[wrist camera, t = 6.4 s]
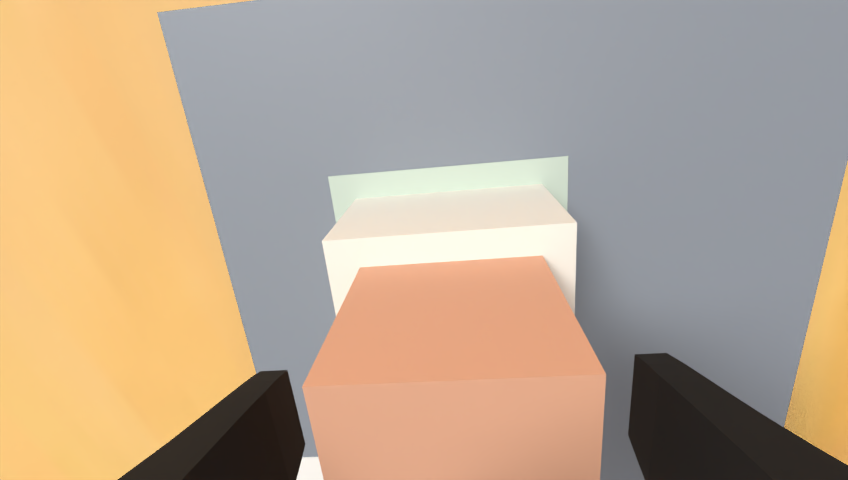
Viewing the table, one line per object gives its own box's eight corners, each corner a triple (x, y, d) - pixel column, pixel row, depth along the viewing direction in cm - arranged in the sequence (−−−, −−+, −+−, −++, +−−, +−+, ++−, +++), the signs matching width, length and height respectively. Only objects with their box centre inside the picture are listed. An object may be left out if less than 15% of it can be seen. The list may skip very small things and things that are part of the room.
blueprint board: (738, 548, 20) (751, 568, 19) (315, 552, 21) (309, 570, 21) (875, -70, 12) (907, -81, 11) (173, 16, 13) (156, 12, 12)
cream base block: (542, 345, 16) (571, 429, 12) (379, 353, 16) (358, 436, 12) (541, 183, 14) (576, 222, 10) (355, 198, 14) (321, 241, 10)
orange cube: (542, 405, 12) (593, 582, 8) (382, 411, 12) (347, 583, 8) (542, 255, 10) (605, 374, 6) (359, 266, 11) (301, 386, 6)
